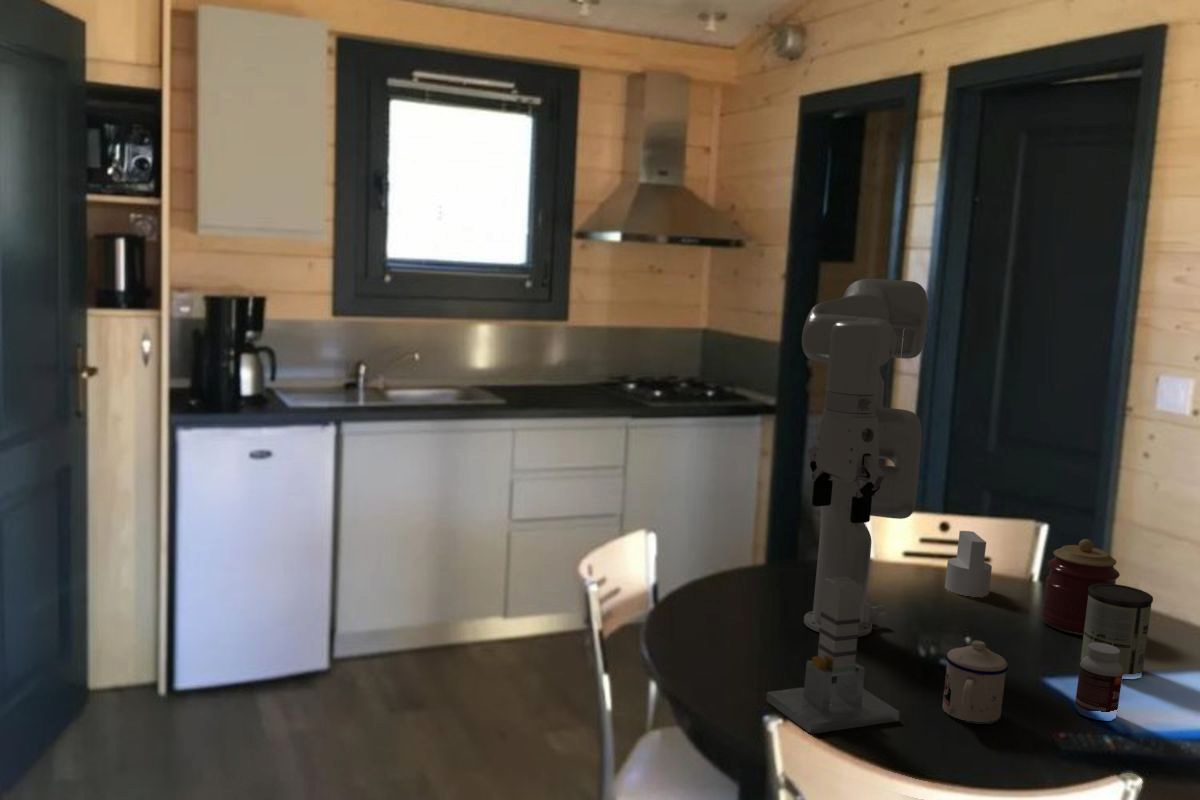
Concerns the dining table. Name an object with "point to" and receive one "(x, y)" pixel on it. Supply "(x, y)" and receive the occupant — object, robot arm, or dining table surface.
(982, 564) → the cylinder with rectangular tab
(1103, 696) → the pill bottle
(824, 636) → the column
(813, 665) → the stand
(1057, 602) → the canister
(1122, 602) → the coffee can
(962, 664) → the teacup with lid
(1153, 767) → the dining table surface
